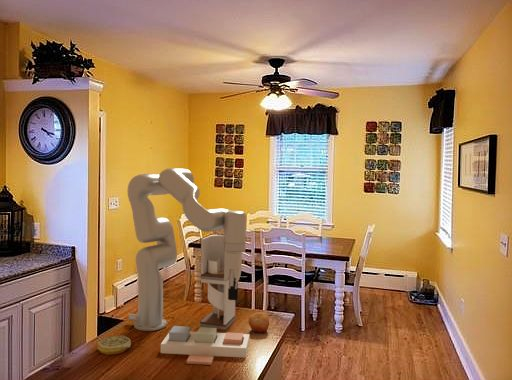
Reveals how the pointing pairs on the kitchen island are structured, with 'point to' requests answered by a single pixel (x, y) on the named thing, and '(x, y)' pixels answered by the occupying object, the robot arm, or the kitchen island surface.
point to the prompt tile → (200, 359)
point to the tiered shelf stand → (216, 283)
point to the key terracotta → (233, 338)
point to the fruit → (259, 322)
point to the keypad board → (206, 346)
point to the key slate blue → (179, 333)
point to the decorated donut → (114, 344)
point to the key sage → (206, 335)
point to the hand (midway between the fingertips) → (232, 299)
